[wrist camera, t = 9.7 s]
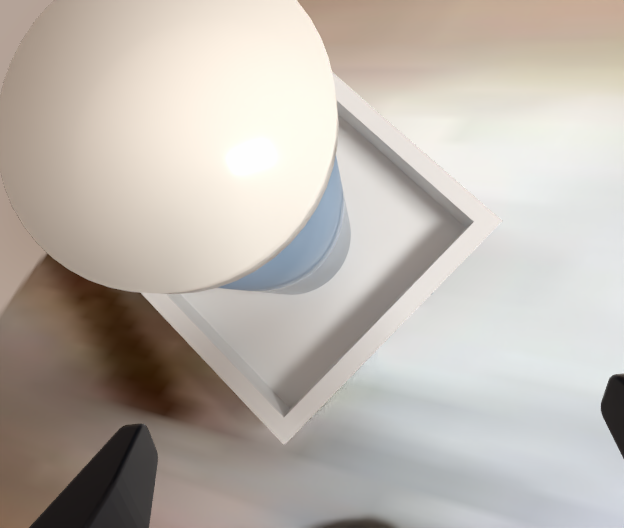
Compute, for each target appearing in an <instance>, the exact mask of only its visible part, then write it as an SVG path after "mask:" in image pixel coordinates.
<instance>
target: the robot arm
mask: <svg viewBox="0 0 624 528" xmlns="http://www.w3.org/2000/svg"><path fill="white" fill-rule="evenodd" d="M601 412H602V416H603V418H604V420H605V422H606V424H607V426H608V428H609V430H610V432H611V434H612V436H613V438H614V440H615V442H616V444H617V446H618V448H619V450H620V452H621V454H622V456H623V458H624V374H615V375H613V376H611V377H610V379H609V381H608V384H607V387H606V390H605V393H604V396H603V399H602V402H601ZM157 462H158V456H157V450H156V447H155V445H154V443H153V440H152V438H151V435H150V433H149V430H148V428H147V426H146V425H145V424H132V425H125V426H123V427H121V428H120V429H119V430H118V431H117V432H116V433H115V434H114V435H113V437H112V438H111V439H110V440H109V441H108V442H107V443H106V444H105V445H104V446H103V447H102V449H101V450H100V451H99V452H98V453H97V454H96V455H95V456H94V457H93V458H92V460H91V461H90V462H89V463H88V464H87V465H86V466H85V467H84V468H83V469H82V470H81V472H80V473H79V474H78V475H77V476H76V477H75V478H74V479H73V480H72V481H71V482H70V484H69V485H68V486H67V487H66V488H65V489H64V490H63V491H62V492H61V493H60V494H59V496H58V497H57V498H56V499H55V500H54V501H53V502H52V503H51V504H50V505H49V506H48V508H47V509H46V510H45V511H44V512H43V513H42V514H41V515H40V516H39V517H38V518H37V520H36V521H35V522H34V523H33V524H32V525H31V526H30V527H29V528H149V523H150V516H151V508H152V500H153V493H154V485H155V478H156V470H157Z"/></svg>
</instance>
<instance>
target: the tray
mask: <svg viewBox="0 0 624 528" xmlns="http://www.w3.org/2000/svg"><path fill="white" fill-rule="evenodd" d="M332 75H333V80H334V86H335V93H336V100H337V110H338V122H339V127H338V145H337V151H336V158H337V163H338V167H339V172H340V177H341V182H342V187H343V192H344V197H345V202H346V207H347V212H348V217H349V222H350V229H351V241H350V247H349V251H348V254H347V257H346V259H345V261H344V263H343V265H342V266H341V268H340V270H339V271H338V272H337V273H336V274H335V276H334V277H333V278H332V279H330V280H329V281H328V282H327V283H325V284H324V285H323V286H321V287H319V288H317V289H315V290H313V291H310V292H307V293H303V294H295V295H286V294H275V293H264V292H254V291H244V290H233V289H223V288H214V289H209V290H205V291H200V292H195V293H183V294H160V293H141V292H140V293H141V294H142V295H143V296H144V297H145V298H146V299H147V300H148V301H149V302H150V303H151V304H152V305H153V307H154V308H155V309H156V310H157V311H158V312H159V313H160V314H161V315H162V316H163V317H164V318H165V319H166V320H167V321H168V322H169V324H170V325H171V326H172V327H173V328H174V329H175V330H176V331H177V332H178V333H179V334H180V335H181V336H182V337H183V338H184V339H185V341H186V342H187V343H188V344H189V345H190V346H191V347H192V348H193V349H194V350H195V351H196V352H197V353H198V354H199V355H200V356H201V358H202V359H203V360H204V361H205V362H206V363H207V364H208V365H209V366H210V367H211V368H212V369H213V370H214V371H215V372H216V373H217V375H218V376H219V377H220V378H221V379H222V380H223V381H224V382H225V383H226V384H227V385H228V386H229V387H230V388H231V389H232V390H233V392H234V393H235V394H236V395H237V396H238V397H239V398H240V399H241V400H242V401H243V402H244V403H245V404H246V405H247V406H248V407H249V409H250V410H251V411H252V412H253V413H254V414H255V415H256V416H257V417H258V418H259V419H260V420H261V421H262V422H263V423H264V424H265V426H266V427H267V428H268V429H269V430H270V431H271V432H272V433H273V434H274V435H275V436H276V437H277V438H278V439H279V440H280V441H281V443H282V444H283V445H285V444H286V443H287V442H288V441H289V440H290V439H291V438H292V437H293V436H294V435H295V434H296V433H297V432H298V431H299V430H300V429H301V428H302V427H303V425H304V424H305V423H306V422H307V421H308V420H309V419H310V418H311V417H312V416H313V415H314V414H315V413H316V412H317V411H318V410H319V409H320V408H321V407H322V406H323V405H324V404H325V403H326V402H327V401H328V400H329V399H330V398H331V397H332V396H333V395H334V394H335V393H336V392H337V391H338V390H339V389H340V387H341V386H342V385H343V384H344V383H345V382H346V381H347V380H348V379H349V378H350V377H351V376H352V375H353V374H354V373H355V372H356V371H357V370H358V369H359V368H360V367H361V366H362V365H363V364H364V363H365V362H366V361H367V360H368V359H369V358H370V357H371V356H372V355H373V354H374V353H375V352H376V350H377V349H378V348H379V347H380V346H381V345H382V344H383V343H384V342H385V341H386V340H387V339H388V338H389V337H390V336H391V335H392V334H393V333H394V332H395V331H396V330H397V329H398V328H399V327H400V326H401V325H402V324H403V323H404V322H405V321H406V320H407V319H408V318H409V317H410V316H411V315H412V313H413V312H414V311H415V310H416V309H417V308H418V307H419V306H420V305H421V304H422V303H423V302H424V301H425V300H426V299H427V298H428V297H429V296H430V295H431V294H432V293H433V292H434V291H435V290H436V289H437V288H438V287H439V286H440V285H441V284H442V283H443V282H444V281H445V280H446V279H447V278H448V276H449V275H450V274H451V273H452V272H453V271H454V270H455V269H456V268H457V267H458V266H459V265H460V264H461V263H462V262H463V261H464V260H465V259H466V258H467V257H468V256H469V255H470V254H471V253H472V252H473V251H474V250H475V249H476V248H477V247H478V246H479V245H480V244H481V243H482V242H483V241H484V240H485V238H486V237H487V236H488V235H489V234H490V233H491V232H492V231H493V230H494V229H495V228H496V227H497V226H498V225H499V224H500V223H501V222H502V220H501V219H500V218H499V217H498V216H496V215H495V214H494V213H493V212H492V211H491V210H490V209H488V208H487V207H486V206H485V205H484V204H483V203H482V202H480V201H479V200H478V199H477V198H476V197H475V196H474V195H472V194H471V193H470V192H469V191H468V190H467V189H466V188H464V187H463V186H462V185H461V184H460V183H459V182H457V181H456V180H455V179H454V178H453V177H452V176H451V175H449V174H448V173H447V172H446V171H445V170H444V169H443V168H441V167H440V166H439V165H438V164H437V163H436V162H435V161H433V160H432V159H431V158H430V157H429V156H428V155H427V154H425V153H424V152H423V151H422V150H421V149H420V148H419V147H417V146H416V145H415V144H414V143H413V142H412V141H411V140H409V139H408V138H407V137H406V136H405V135H404V134H403V133H401V132H400V131H399V130H398V129H397V128H396V127H395V126H393V125H392V124H391V123H390V122H389V121H388V120H387V119H385V118H384V117H383V116H382V115H381V114H380V113H379V112H377V111H376V110H375V109H374V108H373V107H372V106H371V105H369V104H368V103H367V102H366V101H365V100H364V99H363V98H361V97H360V96H359V95H358V94H357V93H356V92H355V91H353V90H352V89H351V88H350V87H349V86H348V85H347V84H345V83H344V82H343V81H342V80H341V79H340V78H339V77H337V76H336V75H335V74H334V73H333V72H332Z"/></svg>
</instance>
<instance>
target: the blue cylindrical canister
mask: <svg viewBox="0 0 624 528" xmlns="http://www.w3.org/2000/svg"><path fill="white" fill-rule="evenodd" d="M338 127H339V122H338V110H337V100H336V93H335V86H334V80H333V75H332V71H331V66H330V62H329V58H328V55H327V53H326V50H325V47H324V45H323V42H322V39H321V37H320V35H319V33H318V32H317V30H316V28H315V26H314V24H313V22H312V21H311V19H310V17H309V16H308V15H307V13H306V12H305V11H304V9H303V8H302V7H301V5H300V4H299V3H298V1H297V0H53V1H52V2H51V3H50V4H49V5H48V6H47V7H46V8H45V10H44V11H43V12H42V13H41V14H40V16H39V17H38V18H37V19H36V20H35V22H34V23H33V25H32V26H31V27H30V29H29V30H28V32H27V33H26V35H25V36H24V38H23V39H22V41H21V43H20V45H19V47H18V49H17V51H16V52H15V55H14V57H13V58H12V60H11V63H10V66H9V68H8V71H7V74H6V77H5V79H4V82H3V86H2V90H1V94H0V173H1V177H2V180H3V184H4V188H5V190H6V193H7V195H8V197H9V200H10V202H11V205H12V207H13V209H14V211H15V212H16V214H17V216H18V218H19V219H20V221H21V223H22V224H23V226H24V227H25V229H26V230H27V231H28V232H29V234H30V235H31V236H32V238H33V239H34V240H35V241H36V243H37V244H38V245H40V246H41V247H42V248H43V249H44V250H45V251H46V252H47V253H48V254H49V255H50V256H51V257H52V258H53V259H55V260H56V261H58V262H59V263H60V264H62V265H63V266H64V267H66V268H67V269H69V270H70V271H72V272H74V273H76V274H78V275H80V276H82V277H84V278H86V279H87V280H90V281H93V282H95V283H98V284H101V285H104V286H107V287H110V288H114V289H119V290H124V291H129V292H141V293H160V294H183V293H195V292H200V291H205V290H209V289H214V288H223V289H233V290H244V291H254V292H264V293H275V294H286V295H295V294H303V293H307V292H310V291H313V290H315V289H317V288H319V287H321V286H323V285H324V284H325V283H327V282H328V281H329V280H330V279H332V278H333V277H334V276H335V274H336V273H337V272H338V271H339V270H340V268H341V266H342V265H343V263H344V261H345V259H346V257H347V254H348V251H349V247H350V241H351V229H350V222H349V217H348V212H347V207H346V202H345V197H344V192H343V187H342V182H341V177H340V172H339V167H338V163H337V158H336V151H337V145H338Z"/></svg>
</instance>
